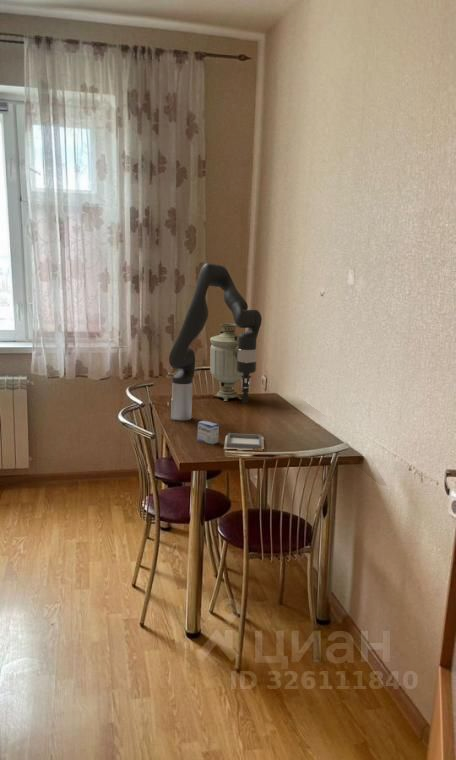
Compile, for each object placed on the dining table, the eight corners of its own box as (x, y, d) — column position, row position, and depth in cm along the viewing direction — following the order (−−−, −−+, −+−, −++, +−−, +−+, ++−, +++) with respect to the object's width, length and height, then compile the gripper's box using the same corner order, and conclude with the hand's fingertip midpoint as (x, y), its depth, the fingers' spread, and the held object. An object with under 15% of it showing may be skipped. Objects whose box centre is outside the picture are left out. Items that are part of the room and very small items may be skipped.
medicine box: (196, 442, 252) (197, 422, 250) (203, 439, 256) (204, 419, 254) (211, 446, 248) (212, 425, 246) (218, 443, 251) (219, 423, 249)
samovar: (264, 404, 317) (268, 328, 308) (216, 406, 310) (218, 328, 301) (246, 391, 345) (249, 320, 336) (201, 392, 337) (203, 320, 329)
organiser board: (223, 451, 242) (223, 444, 242) (225, 438, 259) (226, 431, 258) (263, 453, 242) (264, 446, 241) (263, 439, 258) (263, 433, 258)
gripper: (238, 356, 250) (236, 395, 253) (236, 362, 236) (235, 404, 239) (256, 357, 249) (254, 396, 253) (256, 363, 235) (254, 404, 239)
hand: (245, 400), depth 246 cm, fingers open, 7 cm apart
